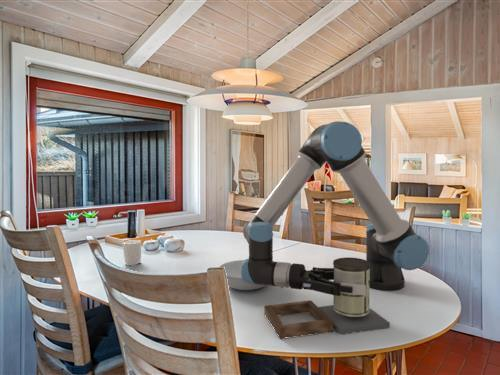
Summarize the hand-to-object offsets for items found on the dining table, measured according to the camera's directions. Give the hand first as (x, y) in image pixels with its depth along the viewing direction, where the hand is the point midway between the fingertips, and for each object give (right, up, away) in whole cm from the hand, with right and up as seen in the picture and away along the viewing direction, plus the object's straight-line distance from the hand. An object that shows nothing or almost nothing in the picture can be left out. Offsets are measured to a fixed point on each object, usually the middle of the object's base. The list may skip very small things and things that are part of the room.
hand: (366, 283), depth 105 cm
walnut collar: (-20, -11, +1) cm, 23 cm away
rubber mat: (-4, -11, +3) cm, 12 cm away
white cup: (-86, -7, +63) cm, 107 cm away
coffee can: (-4, -8, +2) cm, 9 cm away
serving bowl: (-34, -9, +32) cm, 48 cm away
